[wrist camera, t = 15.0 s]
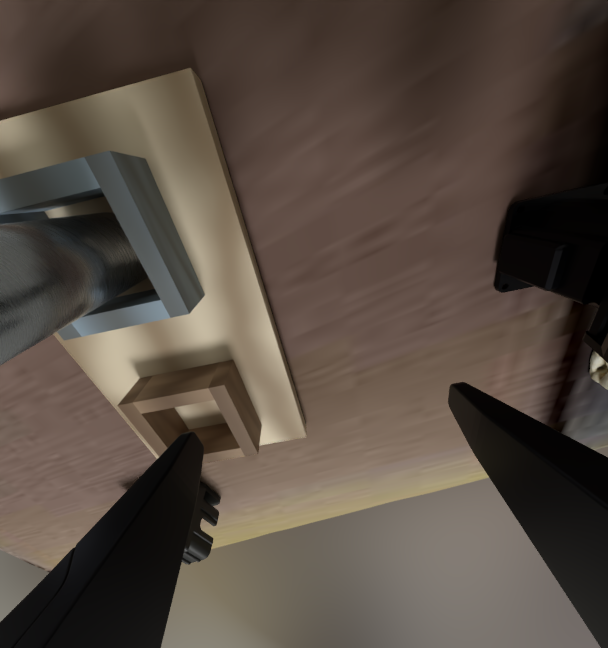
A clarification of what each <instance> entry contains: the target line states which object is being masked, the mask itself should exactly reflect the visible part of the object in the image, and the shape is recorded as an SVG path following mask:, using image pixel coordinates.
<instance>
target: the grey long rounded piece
mask: <svg viewBox="0 0 608 648" xmlns="http://www.w3.org/2000/svg"><path fill="white" fill-rule="evenodd" d="M147 278H148V275H147V273H146V271H145V269H144V268H143V266H142V264H141V262H140V260H139V258H138V256H137V255H136V253H135V251H134V249H133V247H132V245H131V243H130V242H129V240H128V238H127V236H126V234H125V232H124V230H123V229H122V227H121V225H120V223H119V221H118V219H117V217H116V215H115V214H114V213H111V212H101V213H93V214H84V215H75V216H67V217H58V218H49V219H41V220H32V221H23V222H15V223H6V224H0V365H2V364H4V363H5V362H7V361H9V360H10V359H12V358H14V357H15V356H17V355H19V354H20V353H22V352H24V351H25V350H27V349H29V348H30V347H32V346H34V345H36V344H37V343H39V342H41V341H42V340H44V339H46V338H47V337H49V336H51V335H52V334H54V333H56V332H57V331H59V330H61V329H63V328H64V327H66V326H68V325H69V324H71V323H73V322H74V321H76V320H78V319H79V318H81V317H83V316H84V315H86V314H88V313H89V312H91V311H93V310H95V309H96V308H98V307H100V306H101V305H103V304H105V303H106V302H108V301H110V300H111V299H113V298H115V297H116V296H118V295H120V294H121V293H123V292H125V291H127V290H128V289H130V288H132V287H133V286H135V285H137V284H138V283H140V282H142V281H143V280H145V279H147Z"/></svg>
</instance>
